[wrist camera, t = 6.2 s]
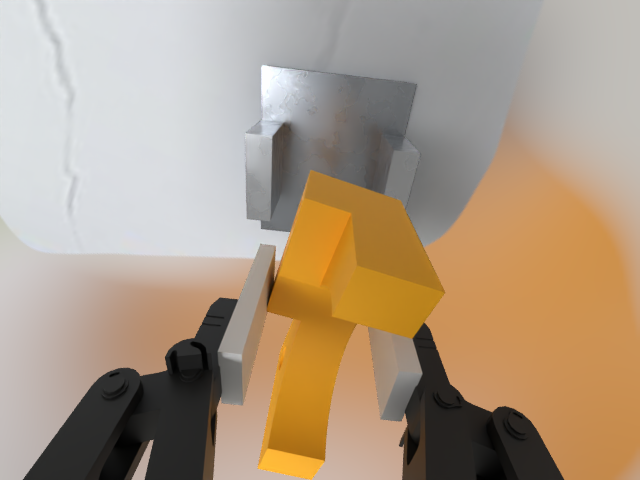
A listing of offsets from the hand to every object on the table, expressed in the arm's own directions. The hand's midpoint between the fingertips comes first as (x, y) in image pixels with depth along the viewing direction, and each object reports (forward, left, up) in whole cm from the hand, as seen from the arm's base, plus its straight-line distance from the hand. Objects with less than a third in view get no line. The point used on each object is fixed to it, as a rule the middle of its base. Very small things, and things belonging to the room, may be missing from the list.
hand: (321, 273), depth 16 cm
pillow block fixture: (-1, 0, -17) cm, 17 cm away
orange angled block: (+1, 0, -1) cm, 1 cm away
